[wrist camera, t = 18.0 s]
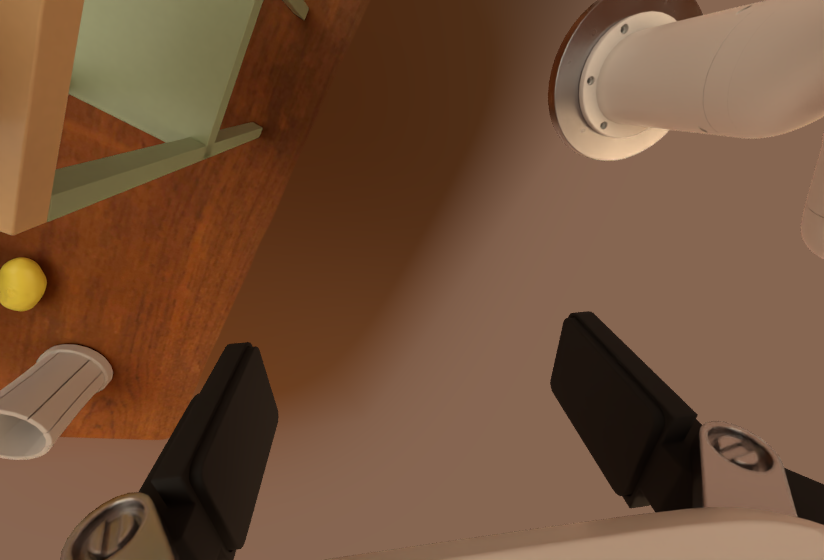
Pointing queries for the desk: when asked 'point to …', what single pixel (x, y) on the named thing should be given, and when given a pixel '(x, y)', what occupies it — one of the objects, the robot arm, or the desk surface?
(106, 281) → the desk surface
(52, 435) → the cup
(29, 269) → the yellow potato
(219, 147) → the mint side table
